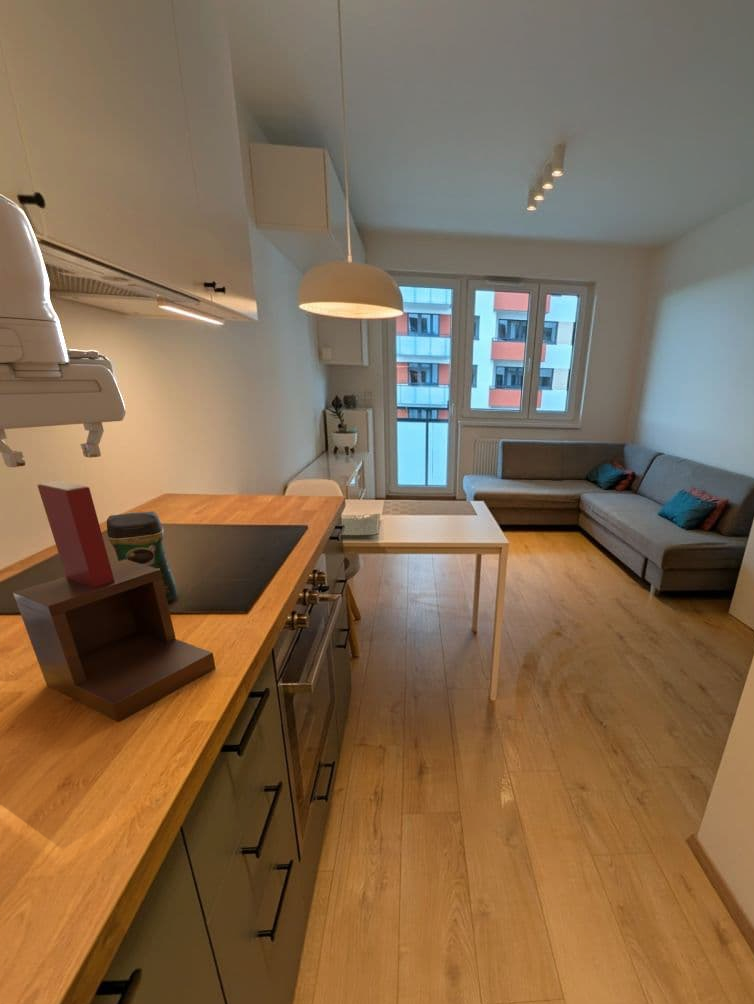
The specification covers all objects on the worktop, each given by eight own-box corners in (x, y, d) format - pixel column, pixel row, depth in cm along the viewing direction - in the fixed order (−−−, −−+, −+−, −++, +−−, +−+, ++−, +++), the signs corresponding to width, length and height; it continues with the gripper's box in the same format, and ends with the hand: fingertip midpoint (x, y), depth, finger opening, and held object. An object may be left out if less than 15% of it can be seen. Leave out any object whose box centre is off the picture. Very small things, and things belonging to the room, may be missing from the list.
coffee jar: (177, 589, 111) (159, 506, 104) (179, 603, 105) (160, 515, 97) (126, 597, 107) (103, 511, 99) (125, 612, 101) (101, 521, 93)
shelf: (46, 685, 78) (12, 592, 71) (146, 641, 90) (125, 559, 84) (118, 722, 70) (88, 621, 64) (215, 668, 83) (198, 580, 77)
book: (66, 578, 76) (36, 483, 70) (87, 572, 78) (60, 480, 72) (94, 588, 73) (65, 490, 67) (114, 581, 75) (89, 486, 70)
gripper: (94, 350, 73) (118, 450, 78) (-97, 342, 56) (-49, 469, 62) (122, 351, 70) (144, 454, 76) (-71, 342, 53) (-23, 475, 59)
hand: (56, 461), depth 69 cm, fingers open, 8 cm apart
